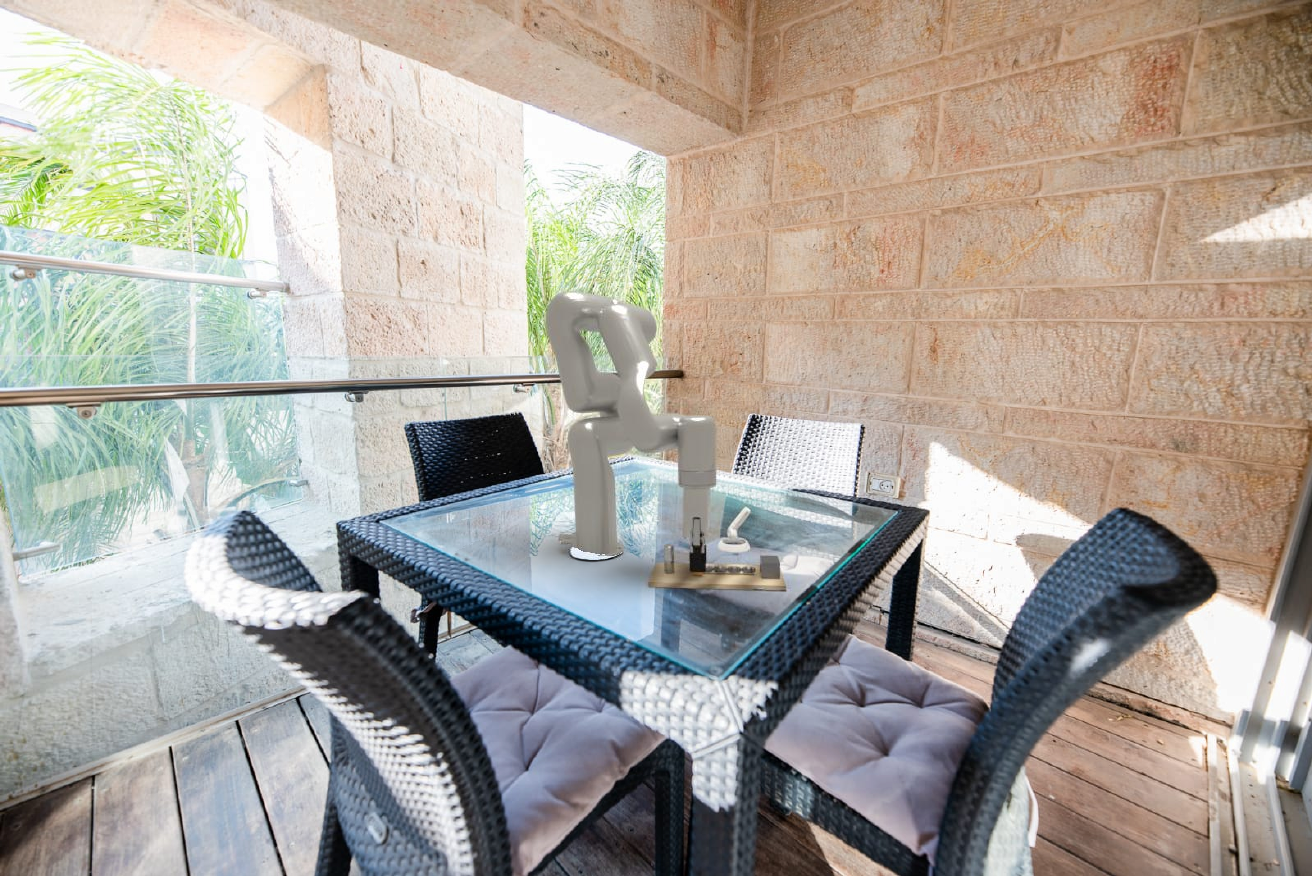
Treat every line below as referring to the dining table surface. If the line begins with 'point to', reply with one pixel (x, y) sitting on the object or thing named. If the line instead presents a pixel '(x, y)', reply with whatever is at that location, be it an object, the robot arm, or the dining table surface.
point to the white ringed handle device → (735, 535)
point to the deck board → (713, 578)
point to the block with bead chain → (730, 569)
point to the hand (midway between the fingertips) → (698, 566)
